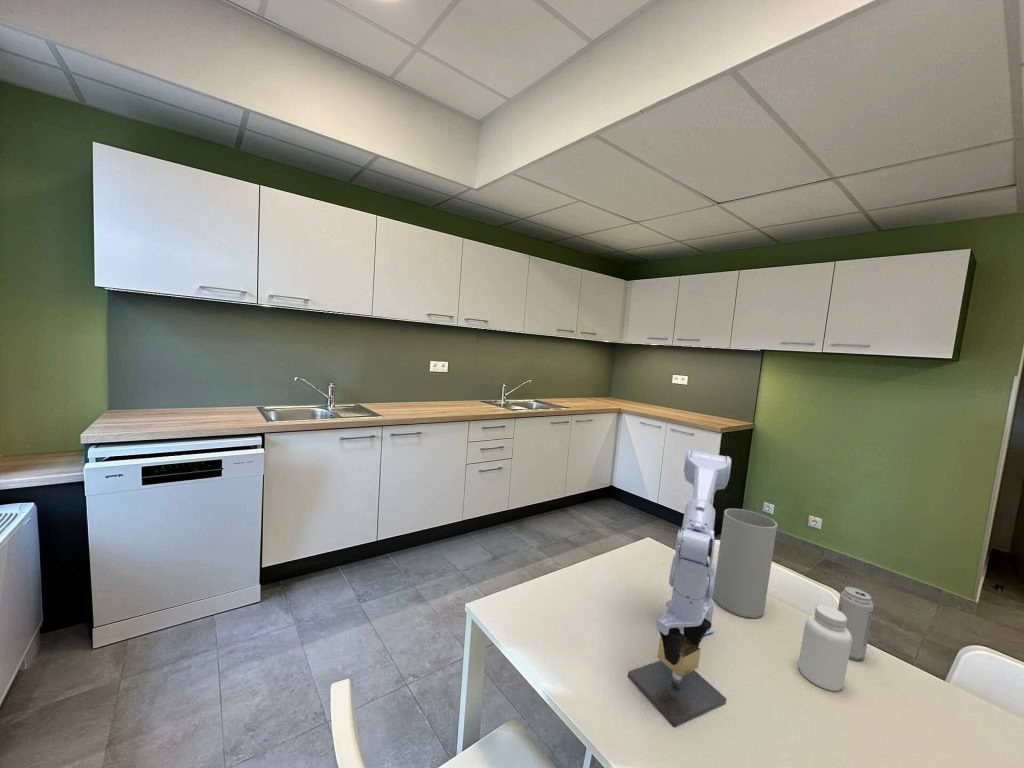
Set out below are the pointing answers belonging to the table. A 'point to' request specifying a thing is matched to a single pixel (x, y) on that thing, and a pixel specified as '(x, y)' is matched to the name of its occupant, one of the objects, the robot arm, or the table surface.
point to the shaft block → (676, 692)
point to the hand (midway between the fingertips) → (679, 656)
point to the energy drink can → (857, 618)
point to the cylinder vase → (744, 562)
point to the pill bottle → (825, 648)
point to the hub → (682, 658)
